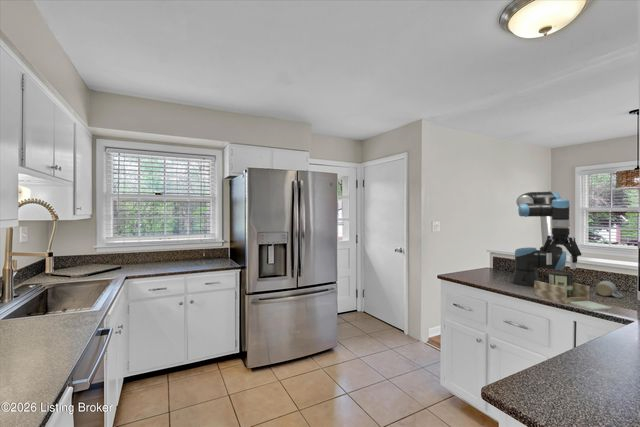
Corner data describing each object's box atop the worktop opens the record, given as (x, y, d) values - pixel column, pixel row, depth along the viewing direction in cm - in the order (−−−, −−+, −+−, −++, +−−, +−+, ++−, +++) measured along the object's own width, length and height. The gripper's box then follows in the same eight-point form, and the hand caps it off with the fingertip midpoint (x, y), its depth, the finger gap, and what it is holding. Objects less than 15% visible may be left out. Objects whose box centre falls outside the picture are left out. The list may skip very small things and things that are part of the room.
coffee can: (565, 295, 168) (565, 270, 168) (577, 301, 158) (577, 274, 157) (544, 295, 170) (544, 270, 170) (555, 300, 160) (555, 273, 160)
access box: (534, 294, 171) (534, 280, 171) (558, 293, 173) (558, 279, 173) (563, 303, 154) (563, 288, 154) (589, 301, 157) (589, 286, 157)
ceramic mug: (594, 295, 169) (594, 281, 169) (598, 292, 174) (598, 279, 173) (620, 299, 160) (621, 285, 160) (624, 297, 165) (624, 283, 165)
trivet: (569, 303, 154) (569, 301, 154) (587, 302, 156) (587, 300, 156) (592, 310, 143) (592, 308, 143) (611, 309, 145) (611, 307, 145)
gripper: (534, 226, 175) (534, 263, 175) (578, 228, 150) (578, 271, 150) (545, 226, 176) (545, 262, 176) (590, 228, 152) (590, 270, 152)
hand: (560, 266), depth 163 cm, fingers open, 13 cm apart
